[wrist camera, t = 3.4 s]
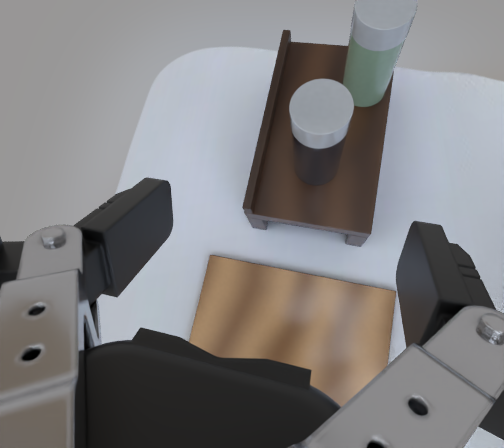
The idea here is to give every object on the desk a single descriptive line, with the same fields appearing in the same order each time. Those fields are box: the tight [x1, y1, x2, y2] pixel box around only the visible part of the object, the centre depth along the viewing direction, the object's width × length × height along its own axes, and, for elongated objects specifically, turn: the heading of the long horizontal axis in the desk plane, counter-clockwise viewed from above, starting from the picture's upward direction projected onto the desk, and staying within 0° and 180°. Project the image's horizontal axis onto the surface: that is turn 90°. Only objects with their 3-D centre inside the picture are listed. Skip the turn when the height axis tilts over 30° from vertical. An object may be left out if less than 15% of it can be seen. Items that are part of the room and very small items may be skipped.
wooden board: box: [189, 255, 396, 407], centre depth 36 cm, size 20×16×1 cm
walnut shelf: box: [243, 30, 394, 247], centre depth 37 cm, size 12×20×8 cm, turn 168°
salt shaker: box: [342, 0, 417, 107], centre depth 31 cm, size 4×4×10 cm
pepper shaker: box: [289, 79, 354, 186], centre depth 29 cm, size 4×4×10 cm
